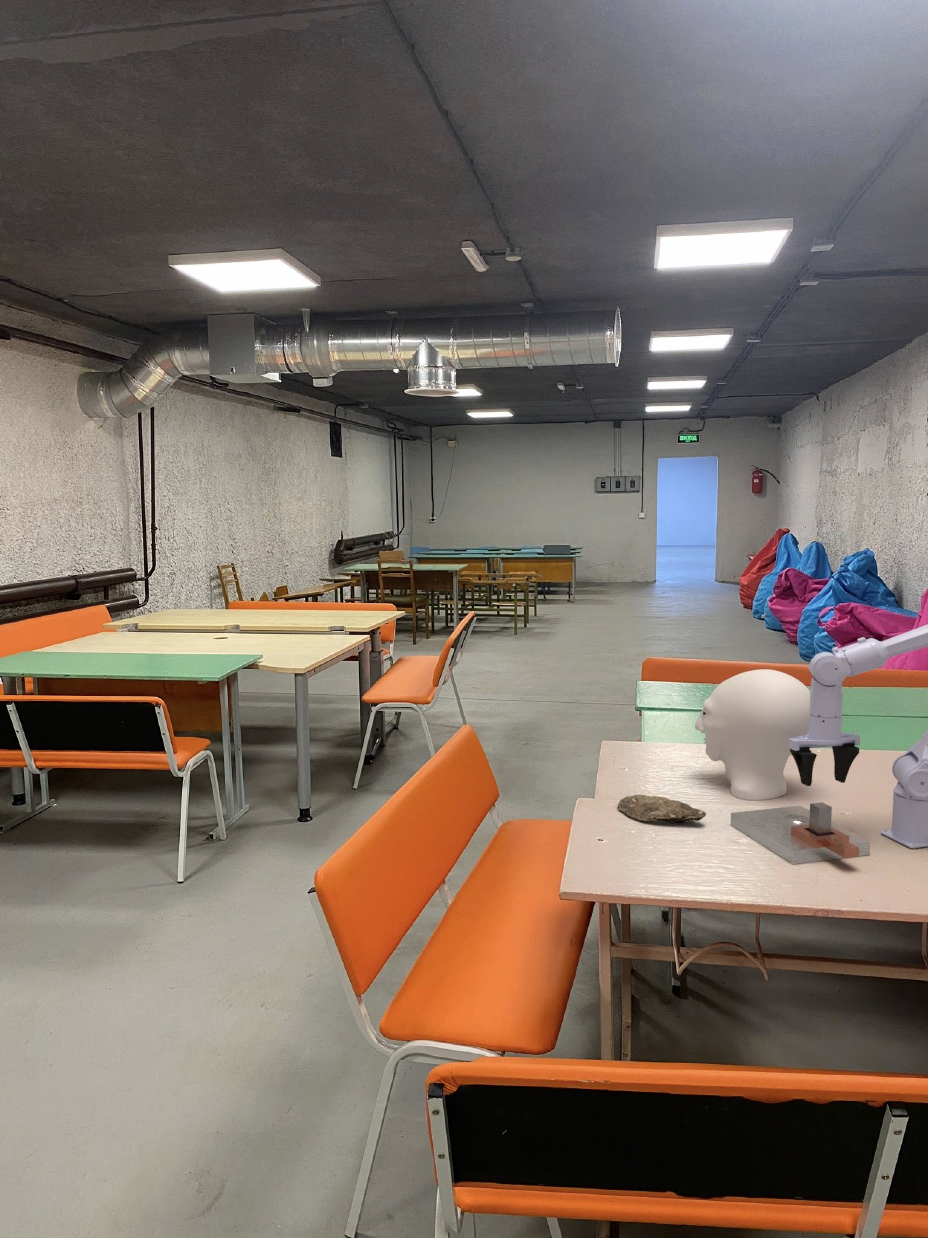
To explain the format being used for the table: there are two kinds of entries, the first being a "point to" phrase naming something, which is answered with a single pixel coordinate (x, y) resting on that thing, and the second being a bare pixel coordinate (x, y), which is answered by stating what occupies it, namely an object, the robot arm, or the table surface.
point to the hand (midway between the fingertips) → (823, 783)
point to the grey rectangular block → (820, 819)
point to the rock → (658, 809)
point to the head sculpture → (755, 729)
